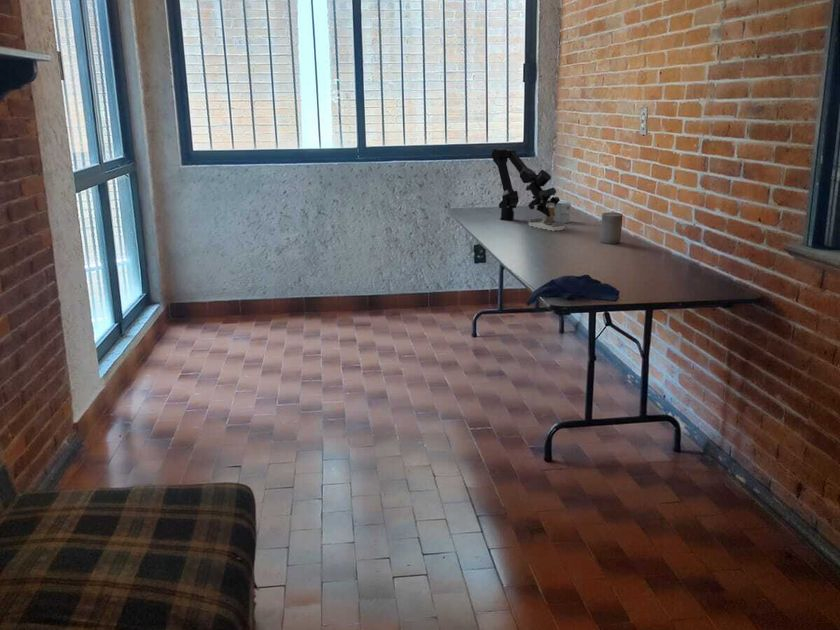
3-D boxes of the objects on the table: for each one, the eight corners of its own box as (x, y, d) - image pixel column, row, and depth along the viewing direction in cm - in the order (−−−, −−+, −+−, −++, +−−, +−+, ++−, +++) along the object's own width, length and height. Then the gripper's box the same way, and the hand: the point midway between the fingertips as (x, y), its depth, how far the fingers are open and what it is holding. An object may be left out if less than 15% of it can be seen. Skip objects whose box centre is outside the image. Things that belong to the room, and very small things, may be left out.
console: (528, 225, 401) (529, 218, 399) (540, 224, 406) (540, 217, 405) (552, 231, 388) (553, 223, 387) (564, 229, 394) (565, 222, 392)
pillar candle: (620, 241, 368) (623, 210, 363) (620, 244, 358) (623, 213, 354) (599, 239, 370) (602, 209, 366) (599, 243, 361) (601, 212, 356)
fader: (543, 223, 395) (545, 203, 392) (550, 222, 398) (551, 202, 395) (548, 224, 392) (550, 204, 389) (555, 223, 395) (556, 203, 392)
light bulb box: (568, 220, 420) (570, 201, 417) (569, 222, 414) (571, 203, 410) (549, 219, 421) (550, 200, 418) (549, 221, 415) (551, 202, 411)
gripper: (534, 183, 386) (549, 208, 381) (558, 181, 398) (573, 205, 393) (522, 196, 394) (536, 221, 389) (546, 194, 406) (560, 218, 401)
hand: (551, 216), depth 393 cm, fingers closed on fader, 3 cm apart
